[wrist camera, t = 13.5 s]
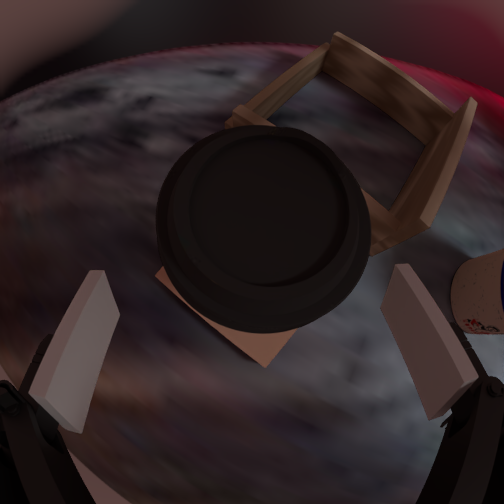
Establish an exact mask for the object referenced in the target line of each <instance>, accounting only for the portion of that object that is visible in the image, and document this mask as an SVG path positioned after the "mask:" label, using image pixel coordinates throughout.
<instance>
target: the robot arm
mask: <svg viewBox="0 0 504 504" xmlns="http://www.w3.org/2000/svg"><path fill="white" fill-rule="evenodd" d="M380 309H381V311H382V313H383V315H384V317H385V319H386V321H387V323H388V325H389V327H390V329H391V332H392V334H393V336H394V338H395V340H396V342H397V345H398V347H399V349H400V351H401V353H402V356H403V358H404V360H405V363H406V365H407V367H408V370H409V372H410V374H411V377H412V379H413V382H414V384H415V386H416V389H417V391H418V394H419V396H420V399H421V402H422V404H423V407H424V409H425V412H426V415H427V417H428V420H431V419H434V418H437V417H440V416H443V415H444V414H445V413H446V412H447V411H448V410H449V409H450V408H451V410H452V414H451V415H450V416H449V417H448V418H447V419H446V420H445V421H444V422H443V423H442V424H441V426H440V427H443V426H444V425H446V424H447V427H446V428H445V429H446V430H445V433H444V436H443V439H442V442H441V445H440V448H439V450H438V453H437V456H436V458H435V461H434V464H433V466H432V469H431V471H430V473H429V476H428V478H427V480H426V483H425V485H424V487H423V489H422V491H421V494H420V496H419V498H418V500H417V502H416V504H504V384H503V383H502V382H501V381H500V380H499V379H498V378H496V377H492V376H490V377H489V376H488V375H487V373H486V371H485V369H484V367H483V366H482V364H481V362H480V360H479V358H478V357H477V355H476V353H475V351H474V350H473V349H472V346H471V344H470V343H469V341H467V338H466V336H465V334H464V333H463V331H462V330H461V329H460V328H459V327H458V326H457V325H456V324H455V323H454V322H452V323H448V321H447V320H446V318H445V317H444V315H443V313H442V312H441V310H440V309H439V307H438V306H437V304H436V303H435V301H434V299H433V298H432V296H431V295H430V293H429V292H428V291H427V289H426V288H425V286H424V285H423V283H422V282H421V280H420V279H419V277H418V276H417V275H416V273H415V272H414V270H413V269H412V268H411V266H410V265H409V264H395V266H394V270H393V273H392V276H391V279H390V282H389V285H388V288H387V291H386V293H385V296H384V299H383V302H382V305H381V307H380ZM119 316H120V313H119V311H118V308H117V305H116V303H115V300H114V297H113V295H112V292H111V289H110V286H109V283H108V280H107V277H106V274H105V271H104V270H90V271H89V273H88V275H87V276H86V278H85V280H84V281H83V283H82V285H81V286H80V288H79V290H78V292H77V293H76V295H75V297H74V299H73V300H72V302H71V304H70V306H69V308H68V309H67V311H66V313H65V315H64V317H63V319H62V321H61V323H60V325H59V327H58V328H57V330H56V332H55V334H54V335H51V334H48V335H47V336H46V337H45V338H44V339H43V341H42V342H41V343H40V345H39V347H38V349H37V351H36V355H34V357H33V359H32V363H30V366H29V368H28V370H27V372H26V374H25V377H24V379H23V381H22V384H21V386H20V388H19V391H18V390H17V389H16V388H15V387H14V386H13V385H12V384H11V383H10V382H9V381H7V380H1V381H0V504H96V503H95V501H94V499H93V498H92V496H91V495H90V492H89V491H88V489H87V487H86V485H85V484H84V482H83V480H82V478H81V476H80V474H79V472H78V470H77V469H76V466H75V464H74V463H73V460H72V458H71V456H70V454H69V452H68V450H67V447H66V445H65V443H64V441H63V438H62V436H61V434H60V432H59V431H58V429H57V428H58V424H60V425H61V426H63V427H64V428H65V429H66V430H69V431H73V432H76V433H80V434H82V431H83V427H84V423H85V420H86V416H87V412H88V409H89V405H90V402H91V398H92V395H93V392H94V388H95V385H96V382H97V379H98V376H99V372H100V369H101V366H102V363H103V360H104V357H105V354H106V352H107V349H108V346H109V343H110V340H111V337H112V335H113V332H114V329H115V327H116V324H117V321H118V319H119Z"/></svg>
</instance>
